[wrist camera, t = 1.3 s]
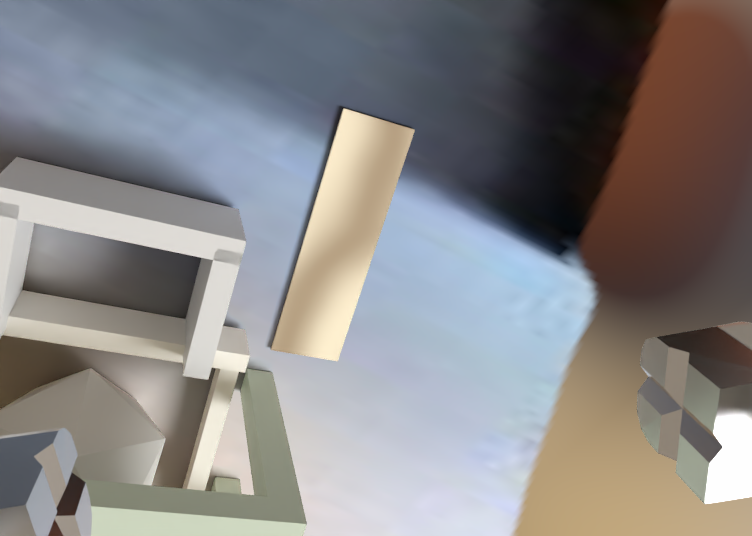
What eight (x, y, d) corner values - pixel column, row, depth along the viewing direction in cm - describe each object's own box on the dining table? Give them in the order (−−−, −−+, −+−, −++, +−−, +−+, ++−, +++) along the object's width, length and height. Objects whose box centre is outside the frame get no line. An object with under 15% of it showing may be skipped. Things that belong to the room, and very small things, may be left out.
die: (80, 308, 36) (-87, 428, 28) (216, 394, 35) (81, 543, 28) (66, 403, 41) (-81, 528, 33) (185, 481, 40) (63, 627, 32)
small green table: (-128, 466, 36) (-271, 684, 25) (-110, 312, 33) (-260, 477, 22) (233, 499, 42) (251, 684, 31) (272, 372, 40) (306, 524, 28)
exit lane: (-194, 269, 32) (-196, 271, 31) (-170, -48, 28) (-172, -48, 27) (337, 359, 40) (337, 361, 40) (413, 129, 36) (414, 129, 36)
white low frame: (-86, 512, 37) (-123, 585, 32) (-33, 145, 31) (-70, 171, 27) (187, 532, 42) (187, 598, 37) (277, 218, 36) (290, 250, 32)
